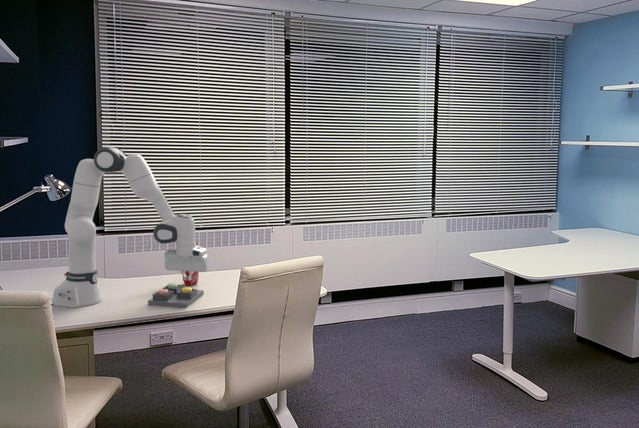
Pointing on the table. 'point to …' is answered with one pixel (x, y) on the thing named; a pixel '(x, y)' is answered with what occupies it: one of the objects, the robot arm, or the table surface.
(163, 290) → the terracotta button
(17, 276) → the table surface
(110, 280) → the table surface
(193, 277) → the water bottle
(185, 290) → the amber button
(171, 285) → the sage button
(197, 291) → the button panel
